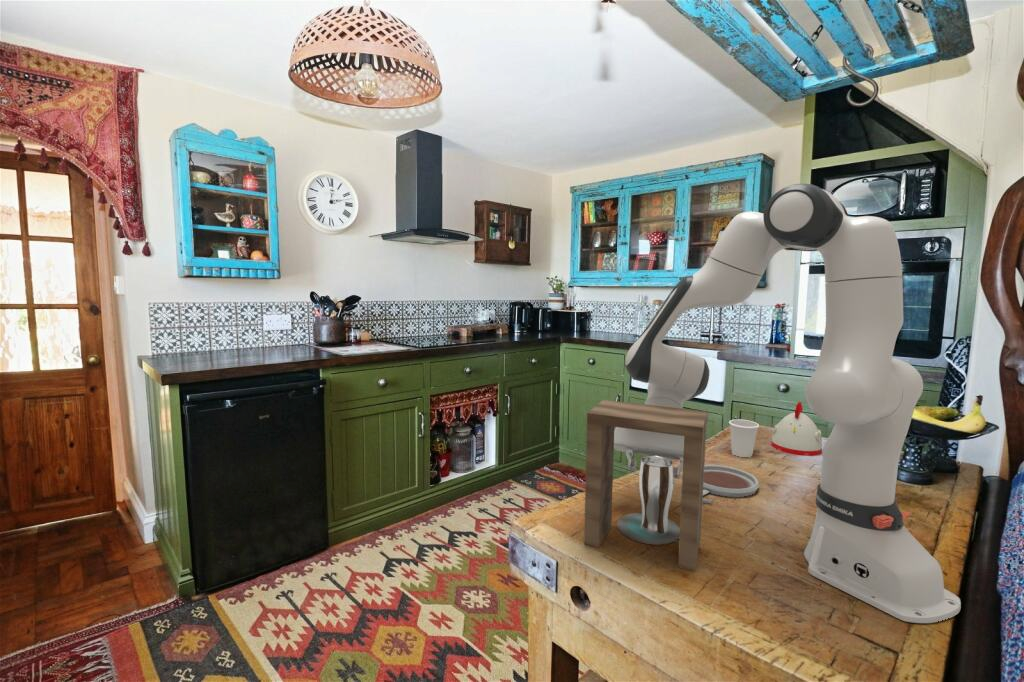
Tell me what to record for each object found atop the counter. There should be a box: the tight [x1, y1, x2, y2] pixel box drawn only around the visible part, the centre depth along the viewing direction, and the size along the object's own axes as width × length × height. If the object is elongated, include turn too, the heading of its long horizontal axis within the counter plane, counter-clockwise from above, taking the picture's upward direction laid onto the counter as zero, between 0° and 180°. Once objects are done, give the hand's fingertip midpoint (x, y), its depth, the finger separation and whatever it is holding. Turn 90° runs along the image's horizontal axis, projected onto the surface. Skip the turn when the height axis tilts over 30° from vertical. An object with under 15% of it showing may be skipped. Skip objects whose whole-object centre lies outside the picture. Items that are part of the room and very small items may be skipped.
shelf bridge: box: [583, 399, 709, 572], centre depth 99 cm, size 18×21×27 cm
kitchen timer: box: [771, 401, 823, 457], centre depth 153 cm, size 14×14×15 cm
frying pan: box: [680, 464, 760, 505], centre depth 122 cm, size 17×3×28 cm
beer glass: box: [638, 455, 675, 536], centre depth 101 cm, size 7×7×15 cm
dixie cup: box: [728, 418, 760, 458], centre depth 147 cm, size 8×8×10 cm
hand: (653, 473), depth 105 cm, fingers open, 8 cm apart
